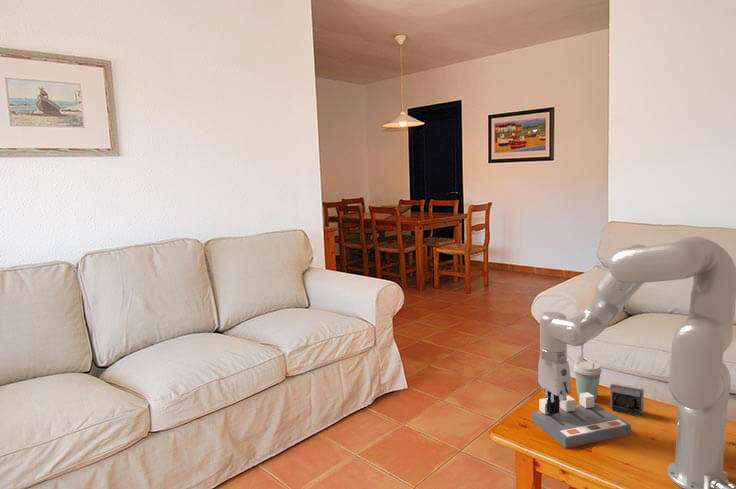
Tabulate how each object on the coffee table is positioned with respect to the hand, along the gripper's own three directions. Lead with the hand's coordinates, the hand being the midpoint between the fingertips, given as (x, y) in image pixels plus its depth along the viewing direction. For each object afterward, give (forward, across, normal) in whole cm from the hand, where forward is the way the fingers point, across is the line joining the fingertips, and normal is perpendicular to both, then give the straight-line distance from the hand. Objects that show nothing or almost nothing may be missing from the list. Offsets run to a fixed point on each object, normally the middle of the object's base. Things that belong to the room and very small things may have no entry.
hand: (553, 412), depth 144 cm
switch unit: (+5, -3, -7) cm, 9 cm away
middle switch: (+1, +3, -7) cm, 8 cm away
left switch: (+1, +3, 0) cm, 4 cm away
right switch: (+1, +2, -14) cm, 14 cm away
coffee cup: (+5, +12, -22) cm, 26 cm away
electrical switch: (+5, 0, -27) cm, 27 cm away
